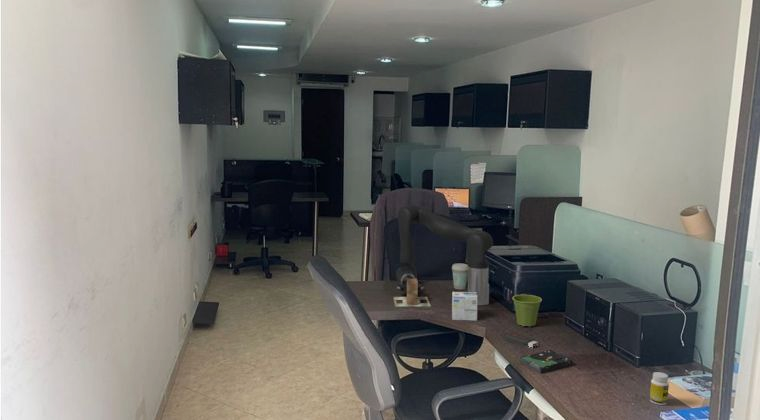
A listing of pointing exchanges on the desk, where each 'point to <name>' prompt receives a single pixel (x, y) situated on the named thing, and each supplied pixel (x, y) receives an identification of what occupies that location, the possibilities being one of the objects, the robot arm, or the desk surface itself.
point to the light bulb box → (464, 306)
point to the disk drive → (545, 361)
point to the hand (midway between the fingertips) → (411, 292)
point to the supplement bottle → (659, 388)
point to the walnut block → (412, 291)
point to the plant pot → (526, 309)
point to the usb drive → (520, 340)
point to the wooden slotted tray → (411, 305)
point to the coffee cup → (460, 275)
